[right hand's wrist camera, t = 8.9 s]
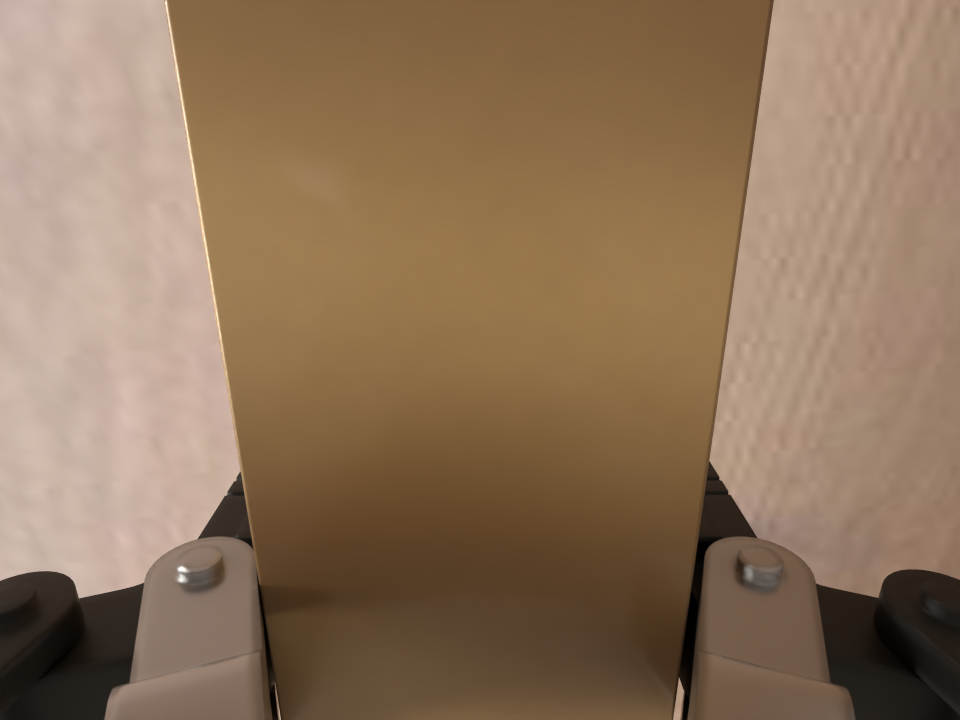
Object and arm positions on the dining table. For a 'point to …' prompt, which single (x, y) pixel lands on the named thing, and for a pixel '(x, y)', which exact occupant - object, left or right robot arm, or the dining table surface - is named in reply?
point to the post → (472, 333)
